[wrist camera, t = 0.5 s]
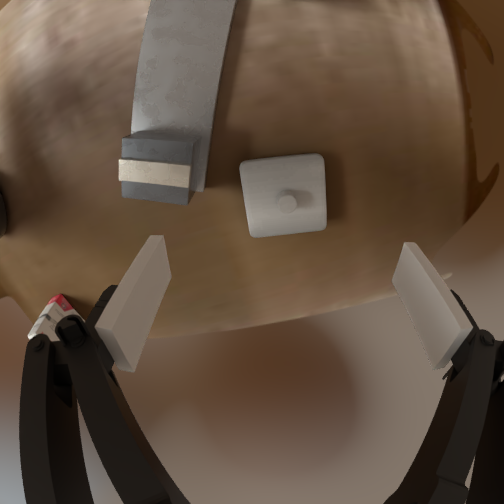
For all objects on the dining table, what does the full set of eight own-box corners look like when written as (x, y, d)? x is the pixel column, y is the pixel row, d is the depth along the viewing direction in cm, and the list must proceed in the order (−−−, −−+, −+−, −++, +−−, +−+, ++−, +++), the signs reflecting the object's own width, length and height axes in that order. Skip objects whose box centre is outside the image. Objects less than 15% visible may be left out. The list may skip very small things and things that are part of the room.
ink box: (50, 297, 47) (25, 336, 37) (61, 292, 46) (34, 333, 36) (74, 324, 51) (54, 364, 41) (86, 321, 50) (65, 363, 40)
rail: (133, 179, 34) (112, 198, 28) (175, -60, 14) (161, -81, 9) (205, 187, 34) (195, 209, 29) (253, -60, 15) (253, -85, 10)
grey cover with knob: (320, 150, 31) (328, 158, 27) (324, 222, 36) (330, 240, 32) (240, 157, 33) (235, 166, 28) (251, 228, 37) (248, 246, 33)
